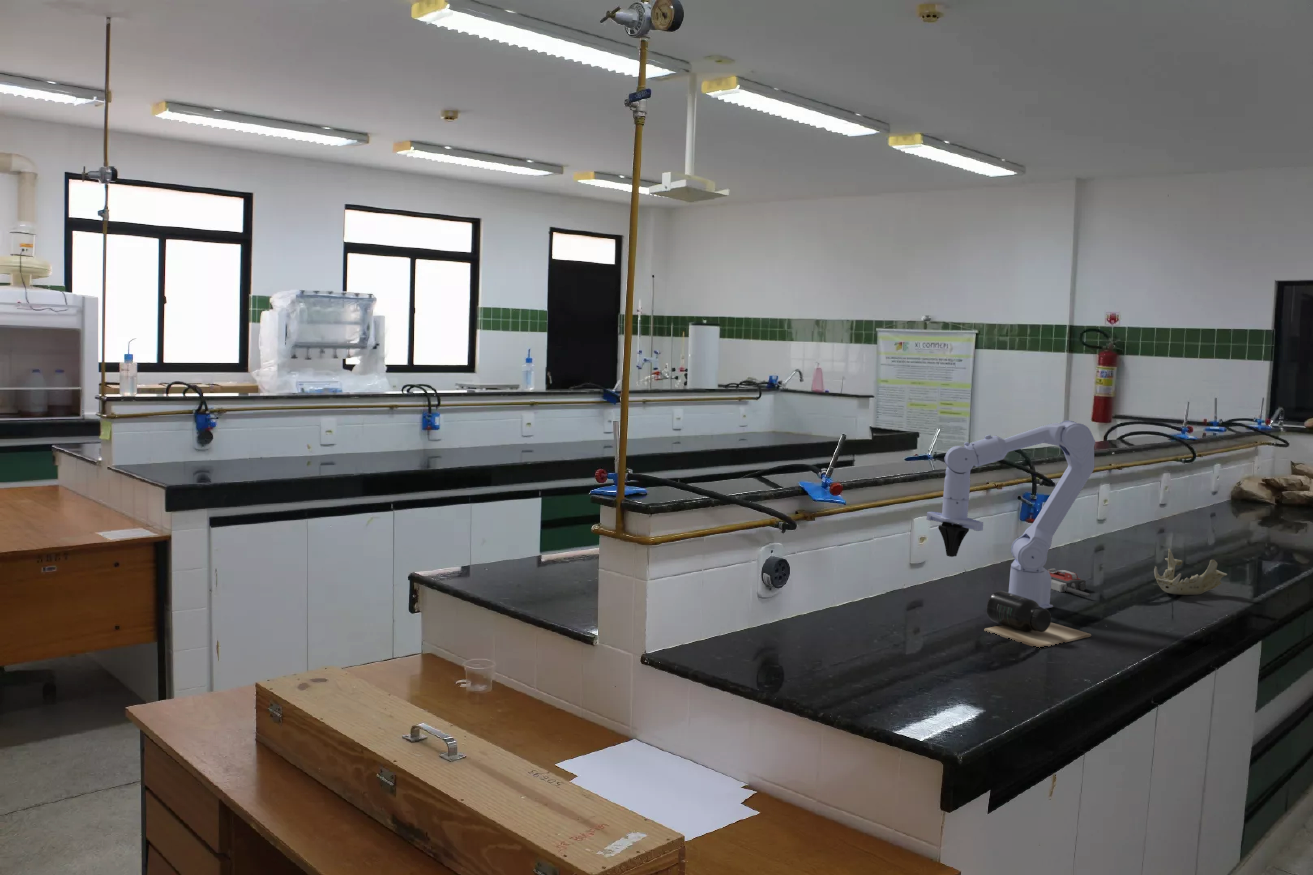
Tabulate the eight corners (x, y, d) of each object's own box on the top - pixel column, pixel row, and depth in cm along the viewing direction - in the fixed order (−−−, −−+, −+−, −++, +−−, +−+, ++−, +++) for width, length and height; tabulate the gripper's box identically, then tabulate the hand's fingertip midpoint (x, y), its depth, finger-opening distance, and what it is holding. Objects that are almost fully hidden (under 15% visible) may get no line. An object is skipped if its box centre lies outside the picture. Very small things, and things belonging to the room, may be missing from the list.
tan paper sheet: (1035, 620, 217) (1036, 617, 217) (1090, 636, 206) (1091, 633, 206) (984, 630, 206) (984, 628, 206) (1039, 648, 196) (1039, 645, 196)
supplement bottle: (1009, 590, 214) (1056, 604, 204) (1004, 620, 214) (1052, 636, 204) (988, 589, 210) (1035, 604, 200) (983, 621, 210) (1030, 637, 200)
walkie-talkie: (1022, 581, 255) (1086, 601, 237) (1023, 565, 254) (1088, 583, 236) (1046, 579, 258) (1111, 599, 241) (1048, 563, 258) (1113, 581, 240)
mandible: (1195, 605, 237) (1199, 564, 236) (1130, 591, 248) (1134, 552, 247) (1227, 595, 249) (1231, 556, 248) (1164, 581, 261) (1167, 544, 260)
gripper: (919, 494, 232) (915, 550, 234) (971, 504, 220) (966, 564, 222) (939, 492, 236) (935, 548, 238) (990, 502, 225) (986, 561, 226)
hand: (951, 555), depth 230 cm, fingers closed
